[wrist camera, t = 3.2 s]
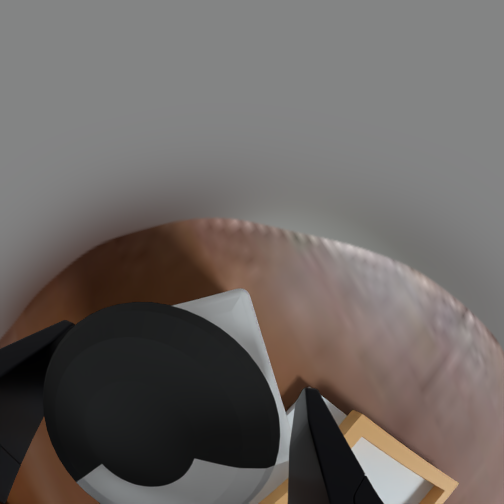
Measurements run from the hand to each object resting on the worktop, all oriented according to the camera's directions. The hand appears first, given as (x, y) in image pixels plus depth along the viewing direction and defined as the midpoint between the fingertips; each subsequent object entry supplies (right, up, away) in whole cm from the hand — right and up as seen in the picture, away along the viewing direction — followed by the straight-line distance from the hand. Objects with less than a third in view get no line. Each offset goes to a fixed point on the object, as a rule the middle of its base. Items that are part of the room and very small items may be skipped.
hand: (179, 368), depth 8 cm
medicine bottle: (-1, -4, +8) cm, 9 cm away
